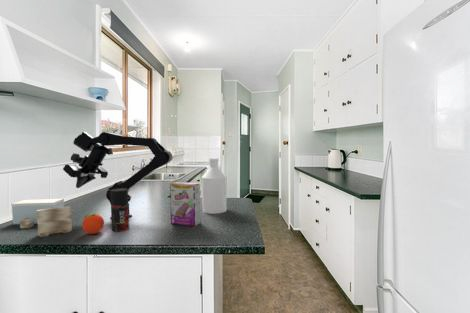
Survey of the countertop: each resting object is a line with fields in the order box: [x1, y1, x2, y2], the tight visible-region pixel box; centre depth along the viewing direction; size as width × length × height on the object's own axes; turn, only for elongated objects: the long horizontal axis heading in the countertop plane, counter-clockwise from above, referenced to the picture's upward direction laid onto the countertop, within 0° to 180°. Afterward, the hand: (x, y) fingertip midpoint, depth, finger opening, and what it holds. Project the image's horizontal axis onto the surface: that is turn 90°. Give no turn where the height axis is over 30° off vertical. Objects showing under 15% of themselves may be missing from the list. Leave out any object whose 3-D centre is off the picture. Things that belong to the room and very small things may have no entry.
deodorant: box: [110, 188, 130, 233], centre depth 95 cm, size 6×6×15 cm
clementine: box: [81, 213, 105, 235], centre depth 91 cm, size 8×7×7 cm
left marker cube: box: [19, 218, 35, 229], centre depth 99 cm, size 3×3×3 cm
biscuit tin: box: [11, 198, 65, 225], centre depth 106 cm, size 16×7×9 cm, turn 95°
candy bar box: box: [169, 181, 201, 227], centre depth 101 cm, size 11×5×16 cm, turn 71°
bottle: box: [201, 157, 228, 215], centre depth 120 cm, size 12×12×25 cm
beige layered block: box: [37, 205, 73, 238], centre depth 92 cm, size 10×5×9 cm, turn 126°
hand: (77, 187), depth 110 cm, fingers closed
